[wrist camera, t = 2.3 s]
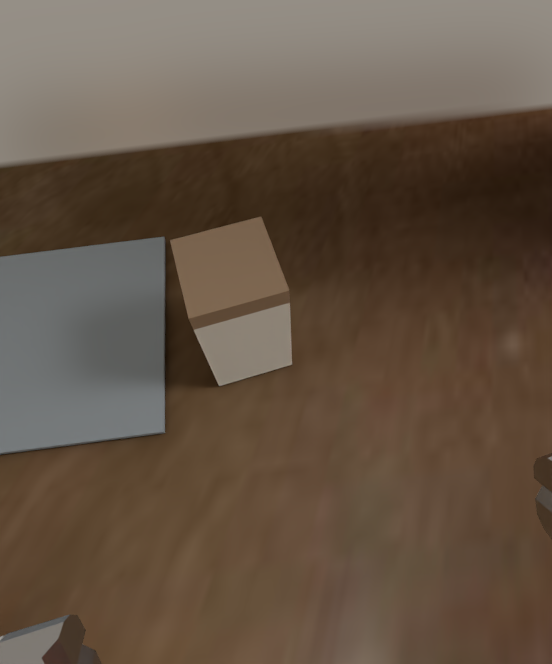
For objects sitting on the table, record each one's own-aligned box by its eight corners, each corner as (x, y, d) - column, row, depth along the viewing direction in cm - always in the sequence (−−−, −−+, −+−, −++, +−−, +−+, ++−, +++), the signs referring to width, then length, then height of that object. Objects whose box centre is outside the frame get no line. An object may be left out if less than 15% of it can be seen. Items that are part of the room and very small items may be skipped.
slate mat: (165, 239, 31) (164, 236, 31) (164, 433, 24) (163, 431, 24) (-32, 263, 31) (-35, 261, 30) (-87, 465, 24) (-91, 464, 24)
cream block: (270, 303, 28) (261, 216, 21) (292, 364, 26) (289, 290, 19) (202, 322, 28) (170, 240, 21) (219, 386, 26) (188, 318, 19)
